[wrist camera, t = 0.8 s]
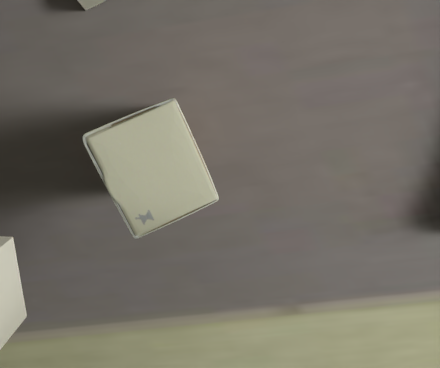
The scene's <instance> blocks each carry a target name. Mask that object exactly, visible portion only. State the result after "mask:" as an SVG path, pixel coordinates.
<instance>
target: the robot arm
mask: <svg viewBox="0 0 440 368" xmlns="http://www.w3.org/2000/svg"><path fill="white" fill-rule="evenodd" d="M26 317H27V314H26V309H25V303H24V297H23V292H22V286H21V280H20V274H19V269H18V263H17V257H16V251H15V246H14V240H13V237H4V236H0V349H1V348H2V347H3V346H4V344H5V343H6V342H7V341H8V339H9V338H10V337H11V336H12V334H13V333H14V332H15V331H16V329H17V328H18V327H19V326H20V324H21V323H22V322H23V320H24V319H25V318H26Z"/></svg>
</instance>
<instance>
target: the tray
mask: <svg viewBox="0 0 440 368" xmlns="http://www.w3.org/2000/svg"><path fill="white" fill-rule="evenodd" d="M104 1H106V0H78V2H79V3H80V4H81V5H82V7H83V8H84V9H85V10H88V9H90V8H92V7H94V6H96V5H98V4H100V3H102V2H104Z"/></svg>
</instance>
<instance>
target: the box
mask: <svg viewBox="0 0 440 368" xmlns="http://www.w3.org/2000/svg"><path fill="white" fill-rule="evenodd" d="M83 143H84V145H85V147H86V149H87V151H88V153H89V155H90V157H91V159H92V161H93V163H94V165H95V167H96V169H97V171H98V173H99V175H100V177H101V179H102V180H103V182H104V184H105V186H106V188H107V190H108V192H109V194H110V196H111V198H112V199H113V201H114V203H115V205H116V207H117V209H118V210H119V212H120V214H121V216H122V218H123V220H124V221H125V223H126V225H127V227H128V229H129V230H130V232H131V234H132V236H133V237H134V238H136V239H137V238H140V237H142V236H144V235H146V234H148V233H151V232H153V231H156V230H158V229H160V228H162V227H165V226H167V225H169V224H171V223H173V222H176V221H178V220H180V219H182V218H184V217H186V216H188V215H190V214H192V213H195V212H197V211H199V210H201V209H203V208H205V207H207V206H208V205H211V204H213V203H215V202H217V201H218V199H219V197H218V194H217V191H216V189H215V186H214V184H213V181H212V179H211V176H210V174H209V171H208V169H207V166H206V164H205V162H204V159H203V157H202V155H201V152H200V150H199V148H198V146H197V144H196V141H195V139H194V137H193V135H192V132H191V130H190V128H189V126H188V124H187V122H186V119H185V117H184V115H183V113H182V111H181V109H180V107H179V105H178V102H177V101H176V99H174V98H172V99H168V100H166V101H163V102H161V103H158V104H155V105H153V106H150V107H147V108H145V109H142V110H140V111H137V112H135V113H132V114H130V115H127V116H125V117H122V118H120V119H118V120H115V121H113V122H110V123H108V124H106V125H103V126H101V127H99V128H97V129H94V130H92V131H89V132H87V133H85V134H84V135H83Z"/></svg>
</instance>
